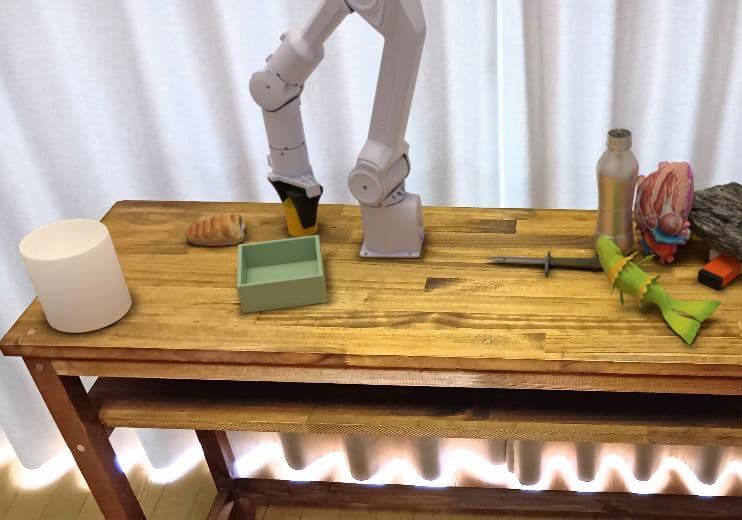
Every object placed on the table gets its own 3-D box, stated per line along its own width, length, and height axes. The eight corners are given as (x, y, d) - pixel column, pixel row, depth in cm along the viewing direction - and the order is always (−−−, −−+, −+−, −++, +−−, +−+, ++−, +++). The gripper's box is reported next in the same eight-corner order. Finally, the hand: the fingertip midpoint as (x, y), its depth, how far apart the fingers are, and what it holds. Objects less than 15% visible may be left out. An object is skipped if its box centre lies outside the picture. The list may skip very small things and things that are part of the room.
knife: (485, 257, 143) (480, 274, 139) (484, 245, 141) (479, 262, 137) (604, 262, 140) (602, 279, 136) (604, 250, 139) (603, 268, 135)
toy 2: (728, 300, 133) (784, 254, 140) (730, 280, 130) (787, 233, 138) (686, 281, 137) (743, 237, 144) (688, 261, 135) (745, 217, 142)
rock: (736, 200, 145) (732, 167, 141) (801, 239, 134) (800, 204, 130) (674, 232, 143) (669, 198, 139) (735, 274, 131) (732, 239, 127)
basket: (323, 260, 143) (318, 234, 140) (327, 302, 133) (323, 275, 130) (244, 270, 141) (238, 244, 138) (243, 313, 131) (236, 286, 129)
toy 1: (582, 244, 128) (574, 290, 133) (700, 305, 119) (687, 351, 124) (615, 226, 133) (606, 270, 138) (730, 283, 124) (717, 328, 129)
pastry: (186, 252, 145) (180, 231, 143) (188, 232, 150) (182, 211, 148) (246, 244, 147) (241, 223, 144) (246, 224, 152) (241, 204, 150)
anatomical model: (646, 165, 142) (632, 261, 144) (627, 158, 138) (613, 257, 139) (708, 167, 135) (692, 267, 137) (690, 160, 131) (674, 263, 133)
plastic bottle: (639, 247, 143) (648, 127, 131) (625, 268, 139) (633, 146, 126) (600, 240, 145) (606, 120, 133) (585, 260, 141) (590, 139, 128)
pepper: (320, 223, 152) (314, 186, 148) (314, 237, 148) (307, 200, 144) (292, 222, 152) (285, 186, 148) (285, 237, 148) (278, 200, 144)
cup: (36, 309, 133) (6, 237, 126) (112, 280, 139) (88, 210, 132) (65, 343, 126) (35, 269, 119) (145, 311, 132) (121, 239, 125)
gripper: (243, 134, 143) (260, 211, 152) (284, 165, 134) (299, 245, 143) (284, 122, 146) (298, 198, 155) (326, 152, 137) (339, 231, 146)
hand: (301, 220), depth 149 cm, fingers closed on pepper, 5 cm apart
